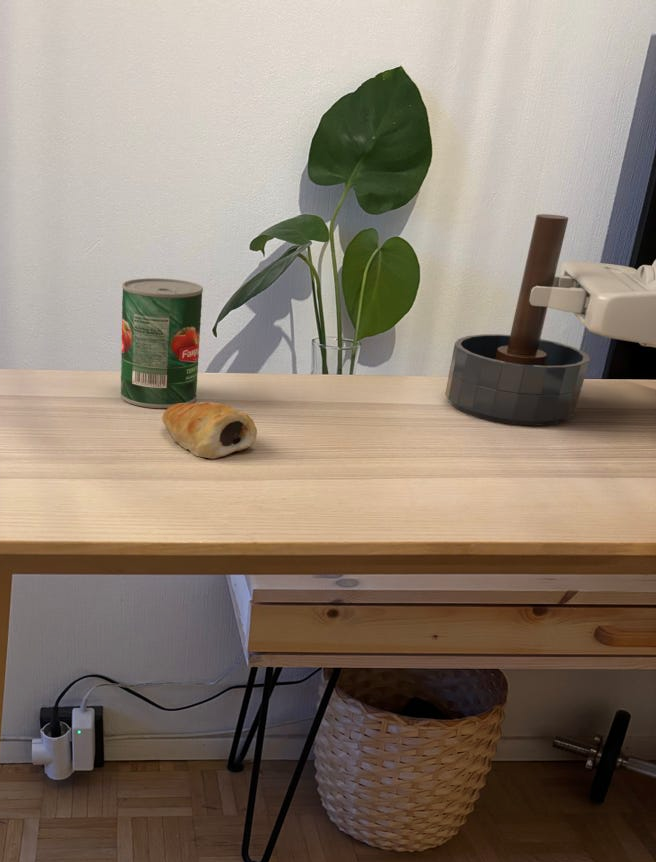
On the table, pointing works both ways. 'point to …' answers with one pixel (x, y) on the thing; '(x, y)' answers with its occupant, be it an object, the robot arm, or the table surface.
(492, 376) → the bowl
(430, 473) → the table surface
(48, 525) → the table surface
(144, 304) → the canned tomato
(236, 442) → the pastry
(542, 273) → the stirrer
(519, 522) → the table surface
